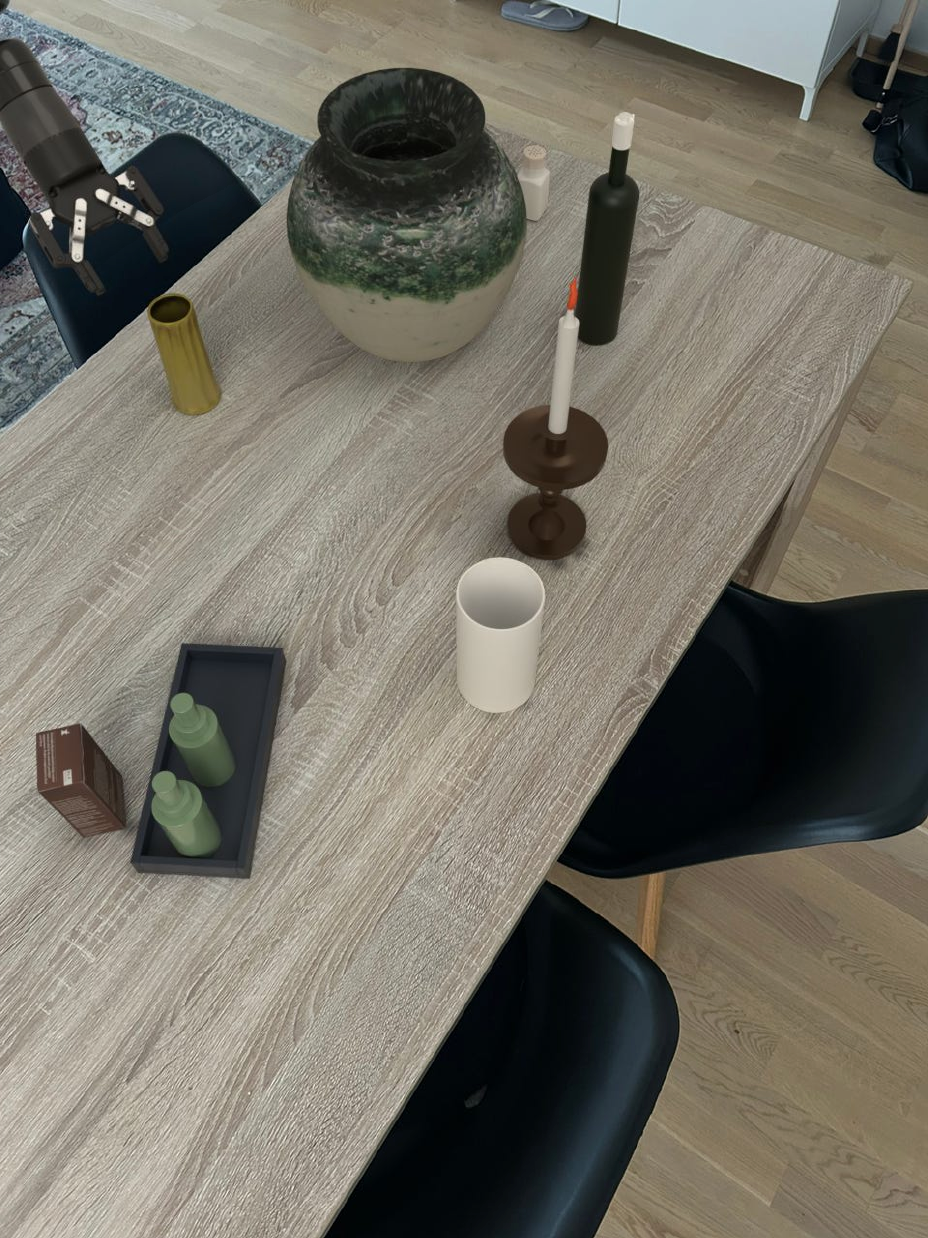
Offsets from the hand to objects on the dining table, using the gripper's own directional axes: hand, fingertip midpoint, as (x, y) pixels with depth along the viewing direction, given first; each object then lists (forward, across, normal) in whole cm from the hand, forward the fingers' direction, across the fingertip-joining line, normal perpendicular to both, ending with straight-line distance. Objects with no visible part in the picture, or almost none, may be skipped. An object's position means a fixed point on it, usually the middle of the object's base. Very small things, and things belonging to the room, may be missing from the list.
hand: (133, 276), depth 122 cm
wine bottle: (+33, -46, +13) cm, 58 cm away
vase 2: (+22, -28, +2) cm, 36 cm away
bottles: (+47, +30, +29) cm, 63 cm away
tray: (+46, +27, +26) cm, 59 cm away
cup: (+54, -1, +34) cm, 64 cm away
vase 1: (+15, 0, -4) cm, 16 cm away
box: (+43, +38, +23) cm, 62 cm away
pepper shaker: (+17, -57, -3) cm, 59 cm away
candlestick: (+46, -18, +26) cm, 57 cm away
